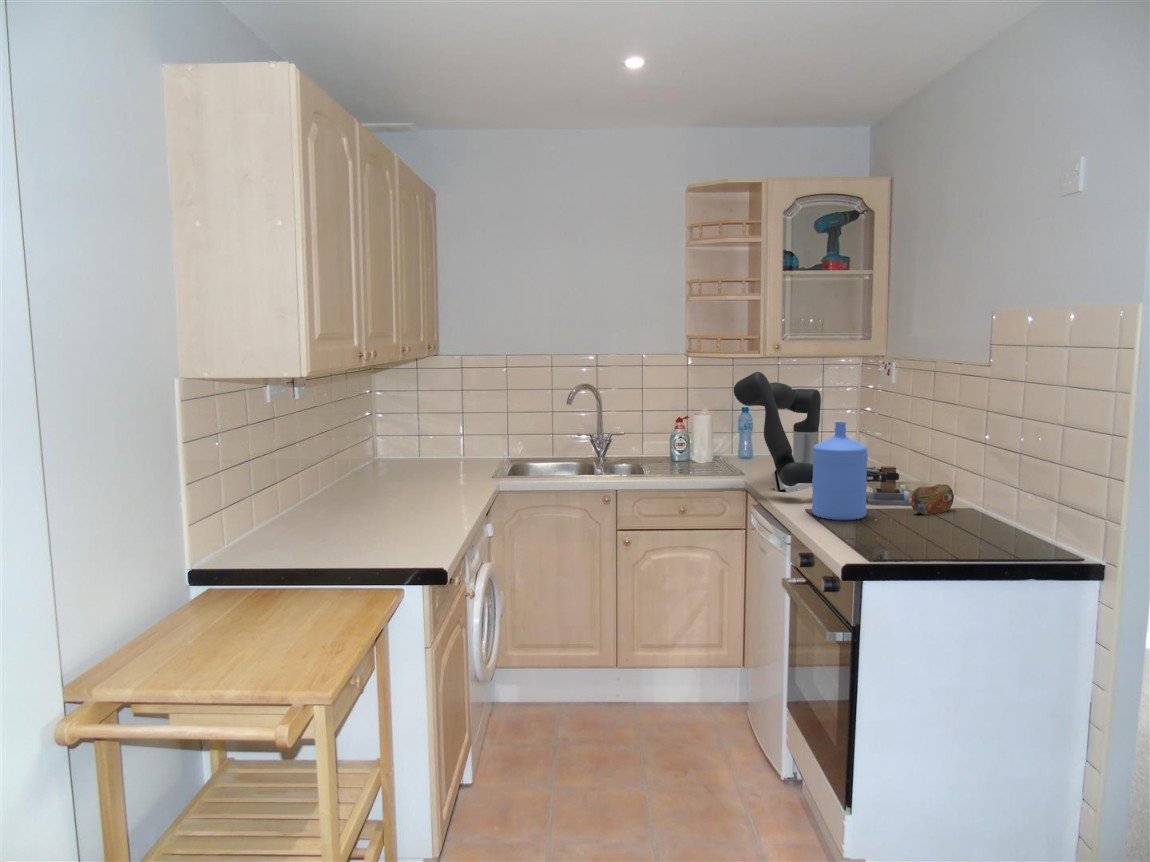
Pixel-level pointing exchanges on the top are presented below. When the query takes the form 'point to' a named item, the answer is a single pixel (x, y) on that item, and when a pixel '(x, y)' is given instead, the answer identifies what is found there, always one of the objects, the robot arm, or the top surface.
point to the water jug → (839, 477)
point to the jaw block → (889, 484)
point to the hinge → (781, 486)
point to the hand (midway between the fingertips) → (895, 474)
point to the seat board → (889, 497)
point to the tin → (932, 499)
